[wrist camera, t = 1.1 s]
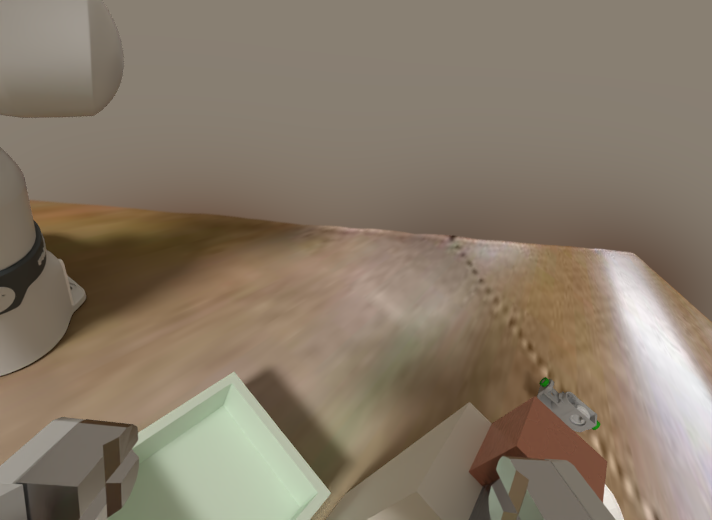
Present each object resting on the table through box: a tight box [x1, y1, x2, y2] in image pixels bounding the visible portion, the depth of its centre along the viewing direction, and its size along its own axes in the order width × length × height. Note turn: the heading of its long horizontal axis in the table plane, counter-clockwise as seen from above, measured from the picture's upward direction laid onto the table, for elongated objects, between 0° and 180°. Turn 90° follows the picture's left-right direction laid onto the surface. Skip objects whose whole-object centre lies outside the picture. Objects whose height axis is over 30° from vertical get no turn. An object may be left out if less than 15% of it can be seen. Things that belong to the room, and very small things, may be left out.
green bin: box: [107, 372, 331, 520], centre depth 35 cm, size 17×17×7 cm
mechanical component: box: [537, 377, 600, 432], centre depth 62 cm, size 3×10×10 cm, turn 52°
